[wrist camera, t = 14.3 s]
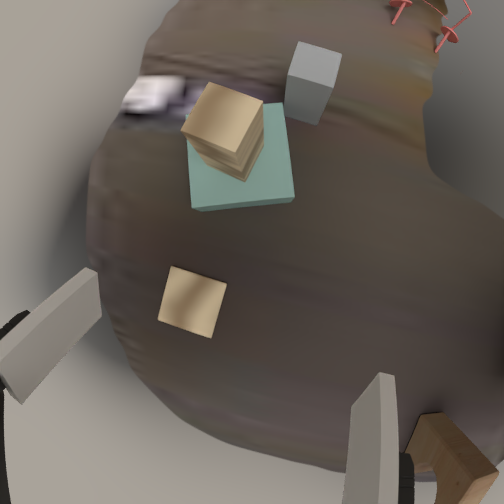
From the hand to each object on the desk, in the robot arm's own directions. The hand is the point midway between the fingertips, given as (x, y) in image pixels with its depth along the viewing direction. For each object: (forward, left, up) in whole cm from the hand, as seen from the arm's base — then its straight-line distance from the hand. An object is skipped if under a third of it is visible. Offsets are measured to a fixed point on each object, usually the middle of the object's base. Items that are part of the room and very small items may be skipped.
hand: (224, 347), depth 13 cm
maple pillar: (+6, -13, -23) cm, 27 cm away
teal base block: (+6, -14, -29) cm, 33 cm away
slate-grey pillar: (0, -25, -29) cm, 38 cm away
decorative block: (-38, +20, -29) cm, 52 cm away
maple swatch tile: (+7, +6, -29) cm, 30 cm away
